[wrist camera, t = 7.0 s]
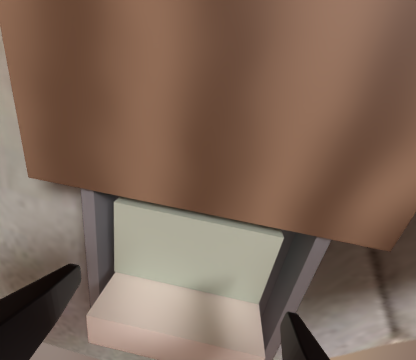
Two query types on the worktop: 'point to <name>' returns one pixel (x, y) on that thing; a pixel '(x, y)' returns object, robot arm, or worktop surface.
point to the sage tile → (194, 249)
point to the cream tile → (174, 322)
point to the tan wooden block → (225, 107)
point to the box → (274, 290)
